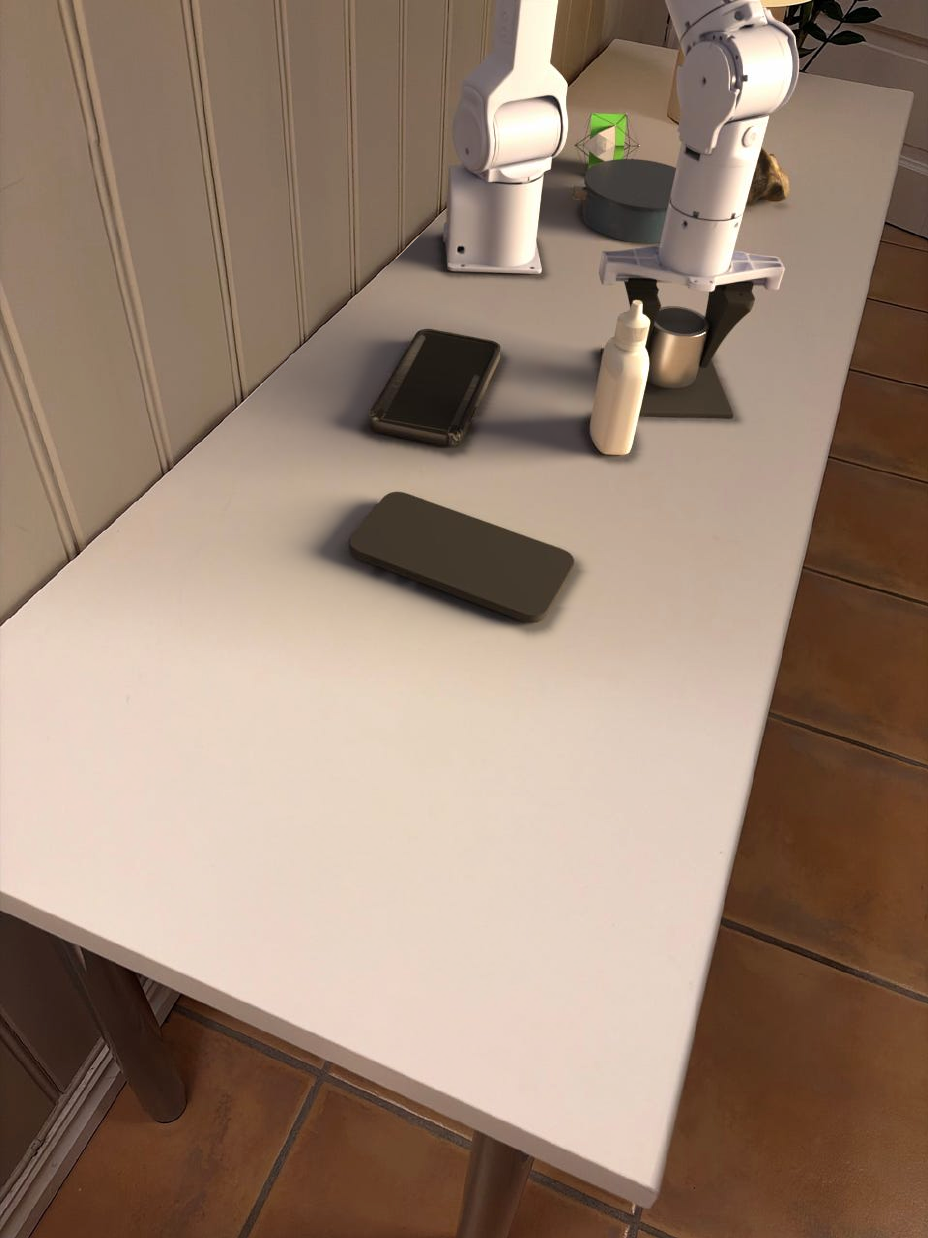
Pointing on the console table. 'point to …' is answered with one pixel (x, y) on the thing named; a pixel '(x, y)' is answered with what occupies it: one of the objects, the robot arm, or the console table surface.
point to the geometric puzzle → (606, 138)
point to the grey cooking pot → (627, 198)
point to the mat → (687, 398)
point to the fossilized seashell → (768, 180)
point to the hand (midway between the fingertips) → (669, 360)
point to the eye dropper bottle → (621, 383)
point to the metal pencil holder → (676, 346)
